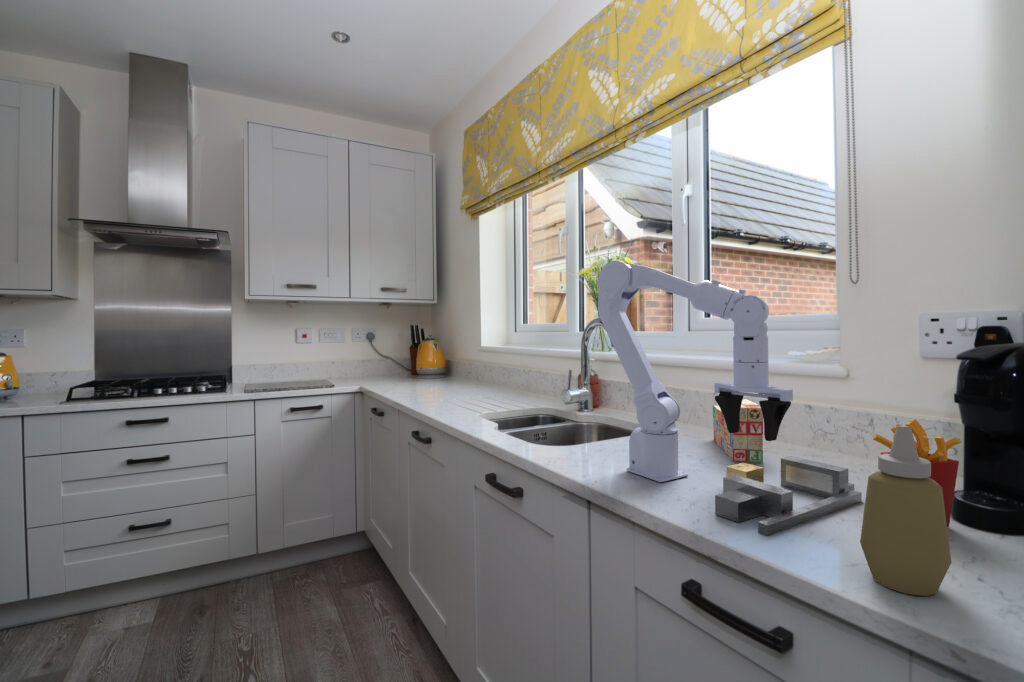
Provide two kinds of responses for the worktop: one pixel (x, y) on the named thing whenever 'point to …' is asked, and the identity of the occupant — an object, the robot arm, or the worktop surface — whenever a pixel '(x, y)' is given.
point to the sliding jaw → (751, 499)
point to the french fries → (933, 461)
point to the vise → (814, 481)
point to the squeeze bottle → (905, 521)
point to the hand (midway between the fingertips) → (751, 436)
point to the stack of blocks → (741, 433)
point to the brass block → (746, 471)
